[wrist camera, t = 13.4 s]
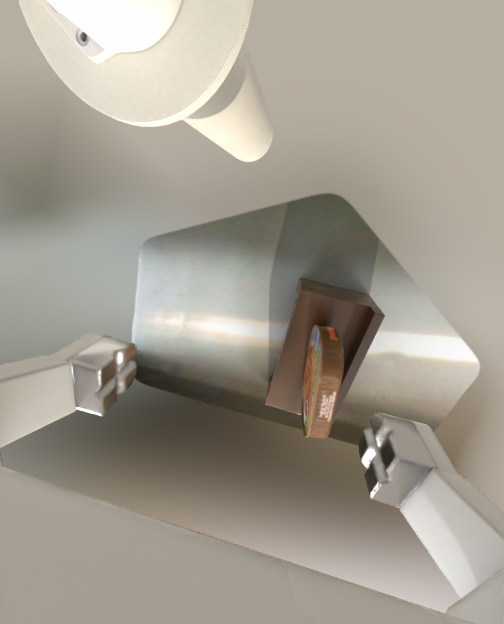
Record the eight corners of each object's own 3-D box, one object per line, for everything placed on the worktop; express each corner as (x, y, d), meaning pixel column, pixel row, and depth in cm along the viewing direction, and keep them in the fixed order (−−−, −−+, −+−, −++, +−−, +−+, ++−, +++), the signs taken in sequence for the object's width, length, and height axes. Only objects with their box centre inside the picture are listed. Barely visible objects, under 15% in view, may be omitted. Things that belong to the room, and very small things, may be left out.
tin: (313, 313, 33) (318, 347, 25) (338, 316, 32) (351, 351, 24) (299, 402, 39) (299, 451, 31) (320, 405, 38) (325, 456, 31)
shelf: (268, 384, 44) (263, 414, 38) (300, 278, 36) (300, 294, 30) (323, 399, 44) (328, 433, 37) (369, 295, 35) (385, 315, 29)
